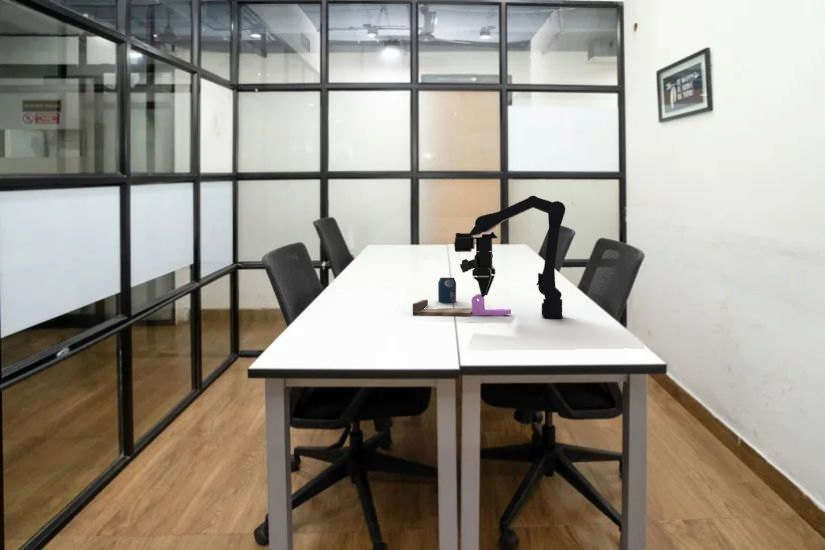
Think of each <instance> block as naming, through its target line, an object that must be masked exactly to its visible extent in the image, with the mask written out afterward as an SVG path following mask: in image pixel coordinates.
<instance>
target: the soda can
mask: <svg viewBox="0 0 825 550" xmlns="http://www.w3.org/2000/svg"><path fill="white" fill-rule="evenodd" d="M437 283H438V284H437V286H438V287H437V288H438V289H437V290H438V293H437V295H438V298H437V300H438V301H437V302H438V303H441V304H454V303H456V302H457V281H456V280H455V277H439V280H438V281H437Z"/></svg>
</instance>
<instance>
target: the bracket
mask: <svg viewBox="0 0 825 550" xmlns="http://www.w3.org/2000/svg"><path fill="white" fill-rule="evenodd" d="M485 307H486V306H485V297H482V296H481V293H480V294H478V293H477V294H476V295H473V297H472V298H471V308H472V315H471V316H474V317H475V316H498V315H499V316H503V315H504V316H505V315H511V314H512V310H511V309H509V308H498V309H490V308H489V309H486V308H485Z"/></svg>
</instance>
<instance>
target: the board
mask: <svg viewBox="0 0 825 550" xmlns="http://www.w3.org/2000/svg"><path fill="white" fill-rule="evenodd" d="M427 305H428V306H429V300H428V299H422V300H421V299H420V300H419V301H417V302H414V303H412V316H431V317H432V316H435V317H438V316H439V317H440V316H441V317H471V316H472V307H462V308H461V307H446V308H445V307H443V308H442V307H441V308H440V307H437V308H438V309H424V308H425V307H426V306H427ZM428 306H427V307H428ZM427 307H426V308H427Z"/></svg>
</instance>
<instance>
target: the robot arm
mask: <svg viewBox="0 0 825 550" xmlns="http://www.w3.org/2000/svg"><path fill="white" fill-rule="evenodd" d="M531 209H536V210H538V211H540V212H543V213H545V214H547V216H548V218H547V219H548V220H547V221H548V235H547V241H546V249H545V256H544V257H545V258H544V263H543V264H544V266H543V269H542V273H541V272H537V283H536V286H537V287H538V288H537V289H538V291H539V293H540V294H542V295H543V296H544V298H543V302H542V303H541V316H542V318H547V319H549V318H551V319H552V318H553V319H555V318H556V319H563V299H562V291H560V290H559V289H558V288H557V287H556V273H555V272H556V269H555V268H556V259H557V252H558V244H559V236H560V230H561V225H562V222H563V220H564V216H565V213H566V206H565V204H564V203H563V202H562V201H558V200H555V201H550V200H547V199H543V198H540V197H538V196H536V195H529V197H527V198H525V199H523V200H520V201H518V202H516V203H514V204H512V205H510V206H508V207H505V208H503V209H501V210H499V211H496V212H492V213H486V214H483V215H479V216H478V217H477V218H476V219H475V222H474V226H473V228H471V231H470V232H467V233H466V232H465V233H462V232H456V233H455V237H454V243H453V244H454V245H453V246H454V252H456V253H471V252H472V250H475V255H473V257H474V258H473V259H470V260H468V259H467V258H465V259H463V260H461V263H460V264H459V267H460V270H461V272H462V273H466V272H469V271H471V270H472V271H471V272H472V273H471V274H472V275H471V276H472V278H473V279H475V281H477V283H478V288H479V292H480V294H481V296H482V297H484V298H485V296H488V295H489V291H490V289H491V288H492V284H493V281H494V279H495V277H496V268H495V267H494V266H493V258H494V253H493V239H498V238H499V237H498V236H497V235H496V233H495V232H494V231H492V230H493V229H495V228H496V227H497V226H499V225H500V224H501V223H503V222H506V221H507V220H509V219H512V218H514V217H517V216H518V215H520V214H522V213H525V212H527V211H529V210H531ZM491 231H492V232H491ZM489 232H491V233H489ZM479 235H481V236H479ZM474 236H476V237H474ZM477 236H479V237H477Z"/></svg>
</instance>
